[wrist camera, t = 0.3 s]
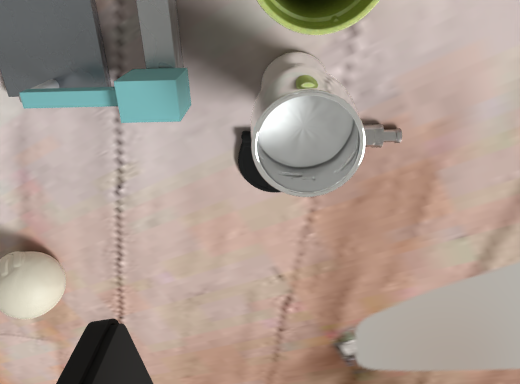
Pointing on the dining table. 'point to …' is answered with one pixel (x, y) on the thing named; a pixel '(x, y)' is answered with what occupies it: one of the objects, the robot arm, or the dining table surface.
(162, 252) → the dining table surface
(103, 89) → the sliding leg
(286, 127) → the beer glass
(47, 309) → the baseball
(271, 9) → the plant pot
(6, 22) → the hole plate
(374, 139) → the black c clamp
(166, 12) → the rail
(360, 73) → the dining table surface
